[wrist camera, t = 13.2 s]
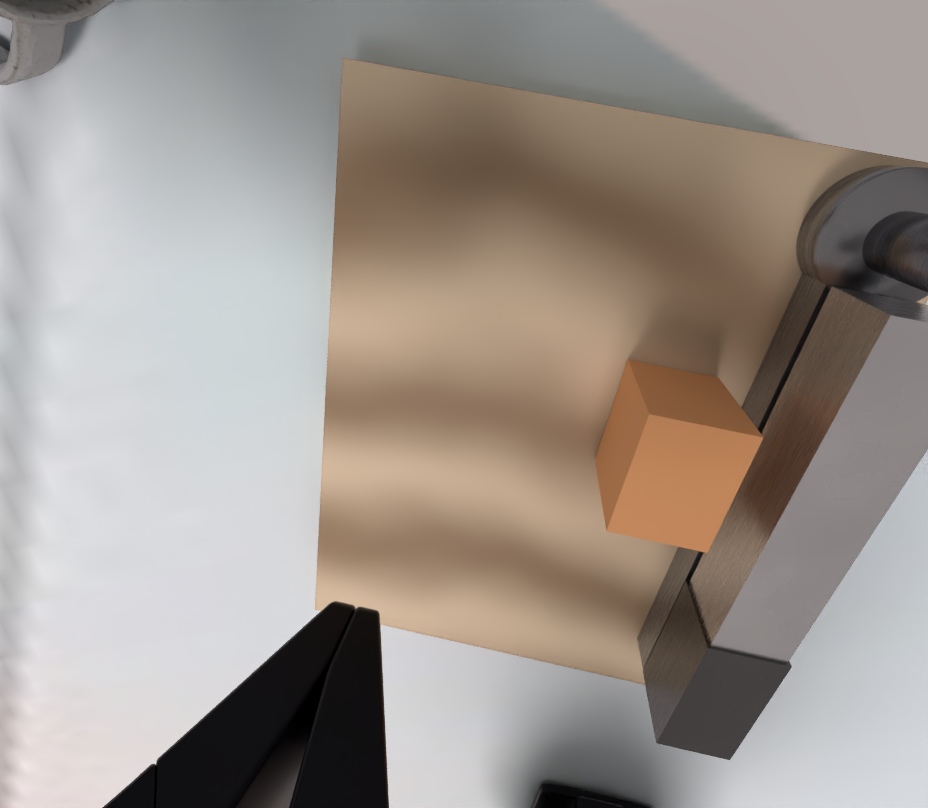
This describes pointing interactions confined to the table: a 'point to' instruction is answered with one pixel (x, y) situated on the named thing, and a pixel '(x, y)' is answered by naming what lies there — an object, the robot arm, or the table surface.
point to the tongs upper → (794, 519)
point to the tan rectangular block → (672, 456)
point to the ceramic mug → (39, 34)
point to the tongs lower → (825, 265)
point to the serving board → (529, 343)
